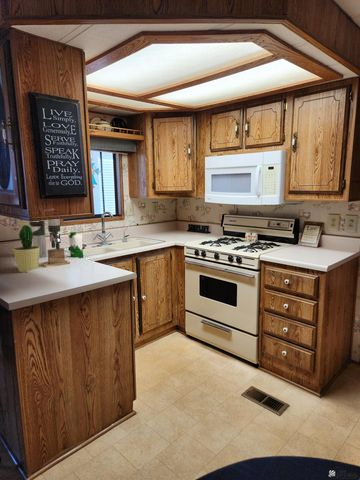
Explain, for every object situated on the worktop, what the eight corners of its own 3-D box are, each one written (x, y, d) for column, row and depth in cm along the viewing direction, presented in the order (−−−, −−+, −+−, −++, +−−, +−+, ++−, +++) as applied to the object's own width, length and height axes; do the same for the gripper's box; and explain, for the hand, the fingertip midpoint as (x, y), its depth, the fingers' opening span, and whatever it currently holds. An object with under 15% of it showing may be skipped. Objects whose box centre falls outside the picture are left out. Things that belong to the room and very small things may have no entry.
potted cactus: (16, 268, 209) (12, 223, 205) (42, 266, 215) (38, 222, 210) (13, 274, 195) (9, 225, 191) (40, 271, 200) (37, 224, 196)
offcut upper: (45, 264, 216) (45, 261, 216) (61, 262, 223) (61, 259, 223) (46, 265, 214) (46, 262, 214) (63, 262, 221) (62, 260, 221)
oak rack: (41, 266, 216) (40, 262, 216) (64, 262, 226) (64, 259, 226) (46, 269, 208) (45, 265, 207) (70, 265, 218) (70, 261, 217)
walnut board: (48, 267, 213) (47, 249, 211) (63, 265, 219) (62, 248, 218) (50, 268, 211) (48, 250, 209) (65, 265, 217) (64, 248, 215)
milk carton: (68, 258, 243) (66, 232, 241) (78, 256, 250) (77, 231, 247) (74, 259, 238) (73, 233, 235) (85, 257, 245) (83, 231, 242)
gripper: (44, 224, 214) (46, 248, 216) (51, 225, 203) (53, 250, 205) (56, 223, 219) (57, 246, 221) (63, 224, 208) (65, 249, 210)
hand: (55, 248), depth 213 cm, fingers open, 8 cm apart
